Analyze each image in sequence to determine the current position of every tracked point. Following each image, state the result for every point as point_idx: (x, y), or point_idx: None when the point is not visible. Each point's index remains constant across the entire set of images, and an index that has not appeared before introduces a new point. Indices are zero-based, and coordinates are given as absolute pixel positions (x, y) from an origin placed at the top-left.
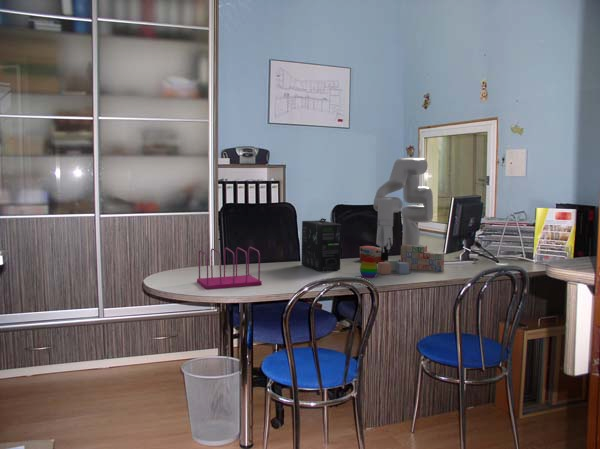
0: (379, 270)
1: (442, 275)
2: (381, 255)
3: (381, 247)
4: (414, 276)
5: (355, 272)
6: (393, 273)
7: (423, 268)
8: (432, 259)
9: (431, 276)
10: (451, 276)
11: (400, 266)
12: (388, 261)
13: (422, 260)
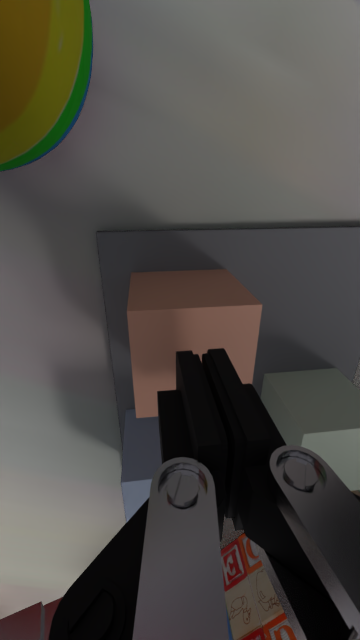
0: (189, 278)
1: (74, 576)
2: (228, 393)
3: (350, 578)
4: (48, 468)
5: (342, 19)
6: None
7: (240, 549)
8: None
9: (46, 537)
10: (44, 598)
11: (122, 463)
12: (305, 429)
13: (261, 605)
